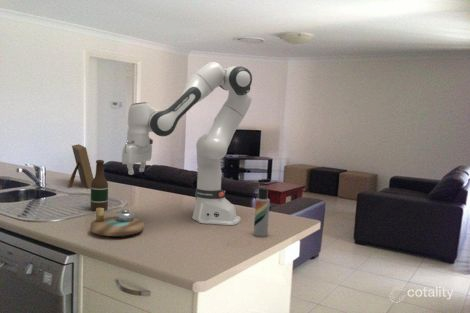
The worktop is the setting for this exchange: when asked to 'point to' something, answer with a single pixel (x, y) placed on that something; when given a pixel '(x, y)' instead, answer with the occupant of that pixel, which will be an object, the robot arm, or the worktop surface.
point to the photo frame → (81, 166)
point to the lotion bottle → (261, 213)
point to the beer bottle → (99, 188)
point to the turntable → (114, 225)
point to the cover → (124, 215)
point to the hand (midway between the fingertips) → (136, 173)
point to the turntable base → (117, 236)
